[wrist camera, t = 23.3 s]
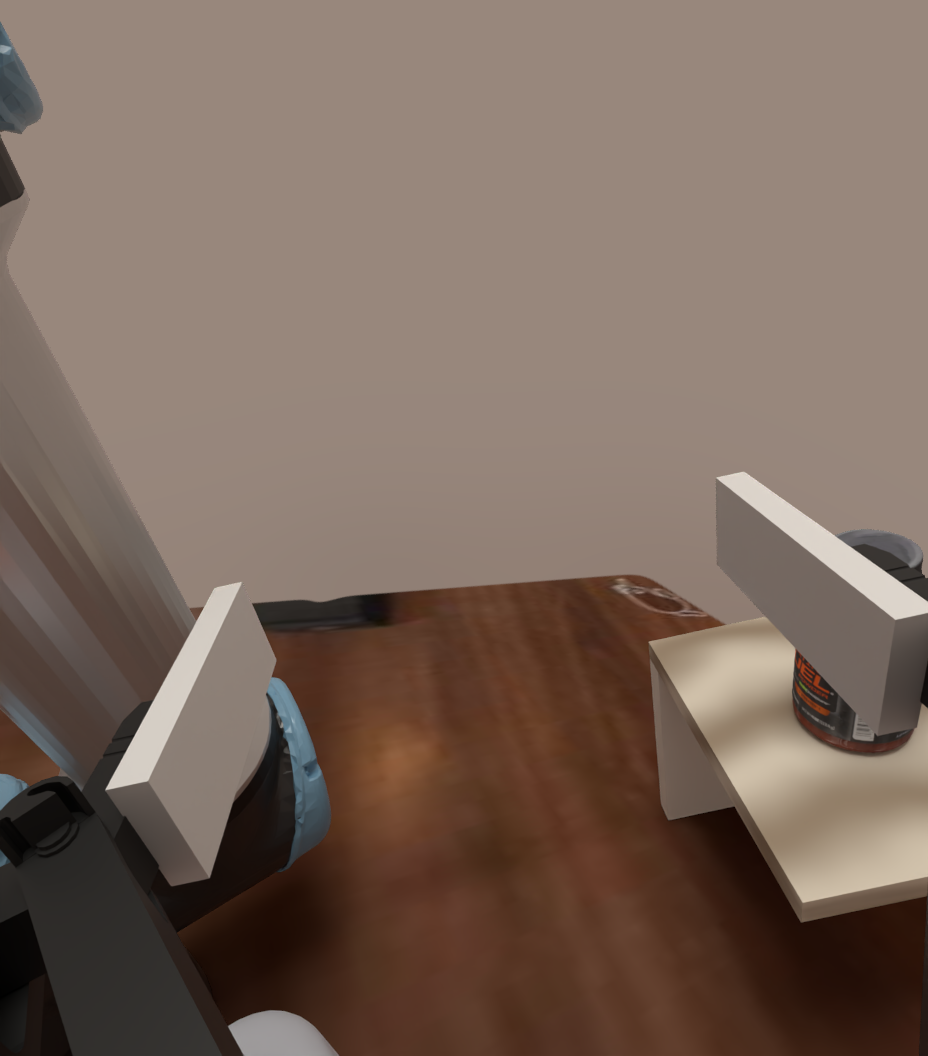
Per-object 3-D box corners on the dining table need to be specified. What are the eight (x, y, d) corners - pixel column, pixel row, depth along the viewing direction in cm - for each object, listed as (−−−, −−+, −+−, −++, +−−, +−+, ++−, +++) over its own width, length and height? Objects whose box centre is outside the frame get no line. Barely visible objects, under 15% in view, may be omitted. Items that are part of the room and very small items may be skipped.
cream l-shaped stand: (1063, 1027, 34) (1164, 827, 26) (785, 1084, 34) (802, 902, 26) (846, 764, 51) (867, 594, 43) (661, 803, 51) (648, 641, 43)
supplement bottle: (769, 693, 37) (776, 533, 32) (862, 671, 37) (884, 507, 32) (834, 770, 31) (855, 593, 26) (943, 744, 32) (985, 562, 27)
